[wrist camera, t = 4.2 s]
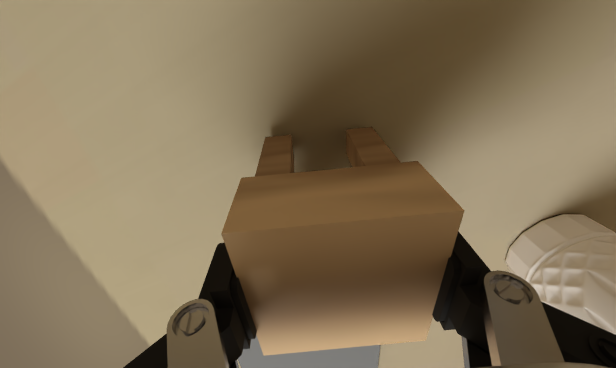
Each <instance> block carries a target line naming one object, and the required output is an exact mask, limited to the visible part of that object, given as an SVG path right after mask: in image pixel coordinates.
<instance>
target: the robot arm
mask: <svg viewBox="0 0 616 368" xmlns="http://www.w3.org/2000/svg"><path fill="white" fill-rule="evenodd" d="M432 315H433V317H434V319H435V320H436V321H440V323H441V325H442V327H443V329H444V330H452V329H456V331H457V333H458V334H459V335H461V336H462V346H463V356H464V366H465V368H616V335H615V334H613V333H611V332H608V331H606V330H604V329H602V328H600V327H597V326H595V325H593V324H591V323H588V322H586V321H584V320H582V319H579V318H577V317H575V316H573V315H570V314H568V313H566V312H564V311H561V310H559V309H557V308H555V307H553V306H550V305H548V304H546V303H544V302H541V300H540V298H539V295H538V293H537V292H536V290H535V289H534V288H533V287H532V286H531V285H530V284H529V283H528V282H527V281H525V280H524V279H523V278H521V277H519V276H517V275H515V274H513V273H509V272H506V271H498V270H497V271H490V269H489V268H488V267H487V266H486V264H485V263H484V262H483V261H482V260H481V258H480V257H479V256H478V255H477V253H476V252H475V251H474V250H473V249H472V247H471V246H470V245H469V244H468V242H467V241H466V240H465V239H464V238H463V236H462V235H461V234H460V233H459V231H458V234H457V237H456V240H455V244H454V247H453V251H452V254H451V257H449V258H448V262H447V265H446V268H445V272H444V275H443V279H442V282H441V286H440V289H439V292H438V296H437V299H436V303H435V306H434V310H433V313H432ZM256 333H257V330H256V327H255V324H254V321H253V319H252V316H251V313H250V310H249V307H248V304H247V301H246V298H245V295H244V292H243V289H242V286H241V283H240V280H239V277H236V274H235V271H234V269H233V266H232V263H231V260H230V257H229V254H228V251H227V248H226V245H225V243H219V244H218V245H217V247H216V250H215V253H214V256H213V259H212V261H211V264H210V267H209V270H208V273H207V275H206V278H205V281H204V284H203V287H202V289H201V292H200V295H199V298H198V299H195V300H192V301H189V302H187V303H185V304H183V305H182V306H181V307H179V308H178V309H177V310H176V311H175V312H174V314H173V315H172V316H171V318H170V320H169V322H168V325H167V334H165V335H164V336H163V337H162V338H160V339H159V340H158V341H157V342H155V343H154V344H153V345H151V346H150V347H149V348H148V349H146V350H145V351H144V352H143V353H141V354H140V355H139V356H138V357H136V358H135V359H134V360H132V361H131V362H130V363H129V364H127V365H126V366H125V367H124V368H239V367H238V363H237V359H238V358H239V357H240V356H241V355H242V352H243V349H250V344H251V339H255V338H256Z"/></svg>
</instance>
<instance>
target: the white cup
mask: <svg viewBox="0 0 616 368" xmlns="http://www.w3.org/2000/svg"><path fill="white" fill-rule="evenodd" d="M505 262H506V264H507V266H508V269H509V271H510V273H513V274H515V275H517V276H519V277H521V278H523V279H524V280H525V281H527V282H528V283H529V284H530V285H531V286H532V287H533V288H534V289H535V290H536V292H537V293H538V295H539V298H540V300H541V302H544V303H546V304H548V305H550V306H553V307H555V308H557V309H559V310H561V311H564V312H566V313H568V314H570V315H573V316H575V317H577V318H579V319H582V320H584V321H586V322H588V323H591V324H593V325H595V326H597V327H600V328H602V329H604V330H606V331H608V332H611V333H613V334H615V335H616V232H614V231H612V230H610V229H608V228H607V227H605V226H603V225H601V224H600V223H598V222H596V221H594V220H592V219H591V218H589V217H587V216H585V215H582V214H562V215H559V216H556V217H553V218H549V219H546V220H543V221H541V222H539V223H538V224H536V225H534V226H533V227H531V228H530V229H528V230H526V231H525V232H523V233H522V234H521V235H520V236H519V237H518V238H517V240H516V241H515V242H514V243H513V244H512V245H511V246H510V248H509V251H508V254H507V257H506V260H505Z"/></svg>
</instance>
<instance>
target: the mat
mask: <svg viewBox="0 0 616 368" xmlns="http://www.w3.org/2000/svg"><path fill="white" fill-rule="evenodd" d="M379 351H380V345H371V346H361V347H350V348H340V349H329V350H318V351H308V352H297V353H286V354H276V355H265V356H264V355H263V352H262V349H261V347H260V344H259V341H258V338H257V335H256V338H255V339H251V344H250V349H243V352H242V355H241V356H240V357H239V358H238V361H239V363H240V366H241V368H378V360H379Z"/></svg>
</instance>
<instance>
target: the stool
mask: <svg viewBox="0 0 616 368" xmlns="http://www.w3.org/2000/svg"><path fill="white" fill-rule="evenodd" d="M346 154H347V156H348V158H349V161H350V163H351V165H352V167H350V168H340V169H329V170H319V171H308V172H298V173H294V154H293V146H292V138H291V135H283V136H272V137H265V141H264V144H263V148H262V152H261V156H260V159H259V163H258V167H257V171H256V174H255V177H246V178H241V180H240V183H239V186H238V189H237V191H236V194H235V197H234V200H233V203H232V205H231V208H230V211H229V214H228V217H227V220H226V222H225V225H224V228H223V231H222V237H223V240H224V243H225V245H226V248H227V251H228V254H229V257H230V260H231V263H232V266H233V269H234V271H235V274H236V277H239V280H240V283H241V286H242V289H243V292H244V295H245V298H246V301H247V304H248V307H249V310H250V313H251V316H252V319H253V321H254V324H255V327H256V330H257V333H256V335H257V338H258V341H259V344H260V347H261V349H262V352H263V355H264V356H265V355H276V354H286V353H297V352H308V351H318V350H329V349H340V348H350V347H361V346H371V345H382V344H393V343H403V342H414V341H424V340H426V338H427V335H428V331H429V328H430V325H431V321H432V318H433V315H432V313H433V310H434V306H435V303H436V299H437V296H438V292H439V289H440V286H441V282H442V279H443V275H444V272H445V268H446V265H447V262H448V258H449V257H451V254H452V251H453V247H454V244H455V240H456V237H457V234H458V230H459V227H460V224H461V220H462V217H463V213H464V210H463V209H462V208H461V206H460V205H459V204H458V203H457V202H456V201H455V200H454V199H453V198H452V197H451V196H450V195H449V194H448V193H447V192H446V191H445V190H444V189H443V187H442V186H441V185H440V184H439V183H438V182H437V181H436V180H435V179H434V178H433V177H432V176H431V175H430V174H429V173H428V172H427V171H426V169H425V168H424V167H423V166H422V165H421V164H420V163H419V162H418V161H413V162H402V163H401V162H400V161H399V160H398V159H397V157H396V156H395V155H394V154H393V153H392V151H391V150H390V149H389V148H388V146H387V145H386V144H385V143H384V141H383V140H382V139H381V138H380V136H379V135H378V134H377V133H376V131H375V130H374V129H373V128H372V127H366V128H355V129H346Z"/></svg>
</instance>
